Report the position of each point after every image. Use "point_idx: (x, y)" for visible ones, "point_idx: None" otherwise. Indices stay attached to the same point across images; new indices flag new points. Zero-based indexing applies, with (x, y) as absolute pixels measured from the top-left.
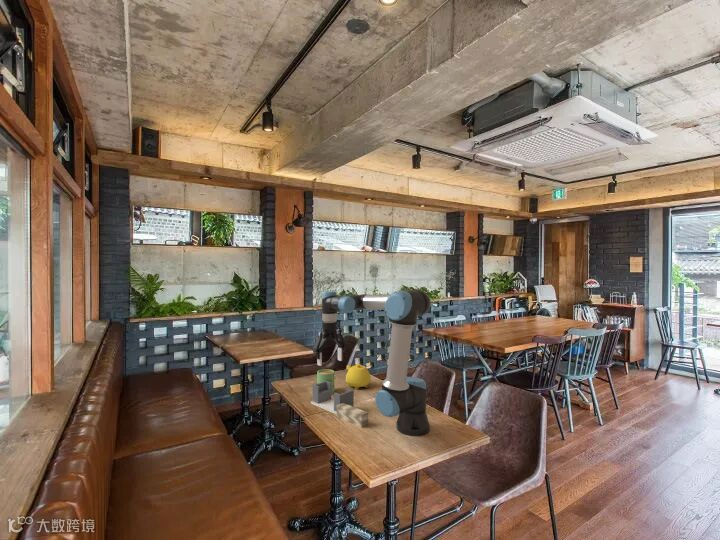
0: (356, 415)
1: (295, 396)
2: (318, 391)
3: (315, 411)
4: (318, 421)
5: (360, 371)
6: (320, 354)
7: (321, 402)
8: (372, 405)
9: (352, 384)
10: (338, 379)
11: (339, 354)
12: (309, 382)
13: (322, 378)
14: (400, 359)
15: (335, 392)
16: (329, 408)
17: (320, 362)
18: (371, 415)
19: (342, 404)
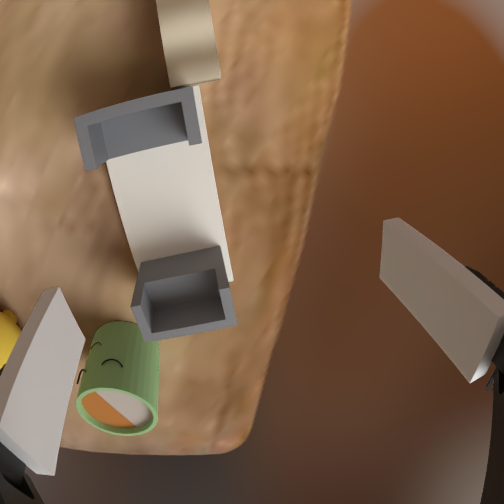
0: None
1: (247, 358)
2: (222, 274)
3: (261, 189)
4: (307, 90)
5: None
6: (496, 296)
7: (198, 250)
8: (14, 122)
9: (18, 329)
10: None
11: (49, 369)
12: None
13: (143, 382)
14: None
15: (189, 144)
16: (203, 166)
17: (422, 238)
18: (78, 22)
19: (187, 70)
